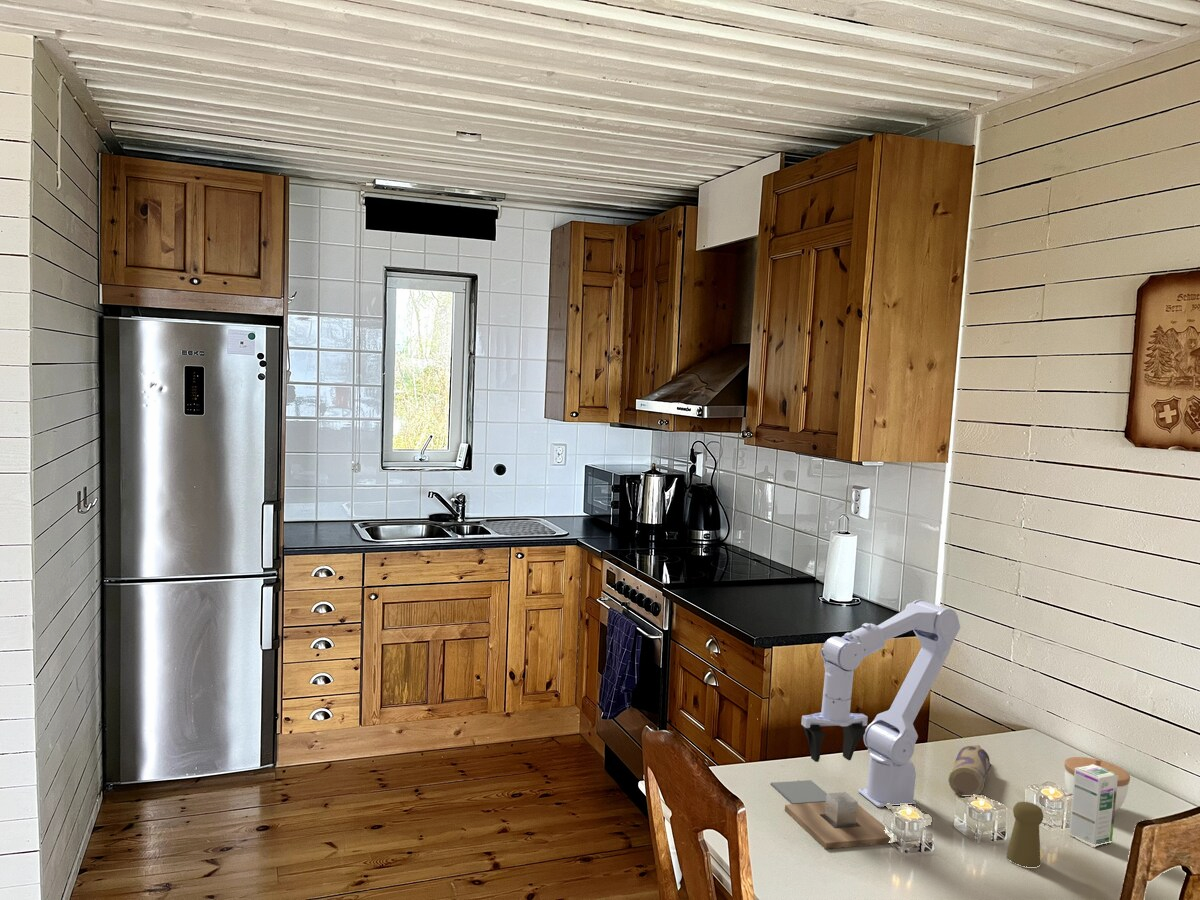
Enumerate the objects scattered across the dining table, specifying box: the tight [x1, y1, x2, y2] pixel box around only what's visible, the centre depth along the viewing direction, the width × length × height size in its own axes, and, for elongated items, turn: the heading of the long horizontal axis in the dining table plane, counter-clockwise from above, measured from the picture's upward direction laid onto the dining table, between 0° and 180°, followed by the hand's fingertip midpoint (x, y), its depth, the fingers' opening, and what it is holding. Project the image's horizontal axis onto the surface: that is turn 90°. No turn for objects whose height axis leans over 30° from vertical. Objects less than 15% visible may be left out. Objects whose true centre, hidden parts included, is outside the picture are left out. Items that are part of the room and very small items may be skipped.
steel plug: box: [824, 791, 859, 829], centre depth 181 cm, size 4×4×6 cm
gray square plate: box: [770, 779, 828, 804], centre depth 196 cm, size 10×10×1 cm
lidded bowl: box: [1063, 756, 1131, 811], centre depth 198 cm, size 13×13×11 cm
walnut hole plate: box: [784, 802, 890, 850], centre depth 181 cm, size 16×16×1 cm
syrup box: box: [1068, 764, 1118, 845], centre depth 183 cm, size 6×6×14 cm
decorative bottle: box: [947, 744, 992, 796], centre depth 211 cm, size 26×8×7 cm, turn 151°
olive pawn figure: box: [1005, 801, 1044, 867], centre depth 172 cm, size 6×6×11 cm
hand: (830, 759), depth 189 cm, fingers open, 7 cm apart
